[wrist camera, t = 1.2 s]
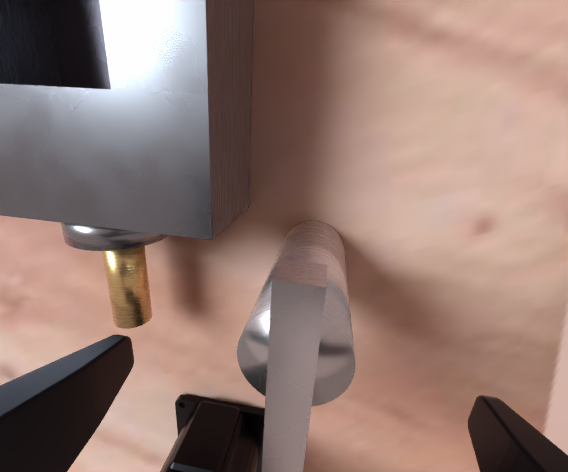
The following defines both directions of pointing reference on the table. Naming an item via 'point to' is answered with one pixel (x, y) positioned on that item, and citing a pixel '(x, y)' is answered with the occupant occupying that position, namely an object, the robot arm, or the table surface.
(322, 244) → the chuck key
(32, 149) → the block
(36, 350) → the table surface
